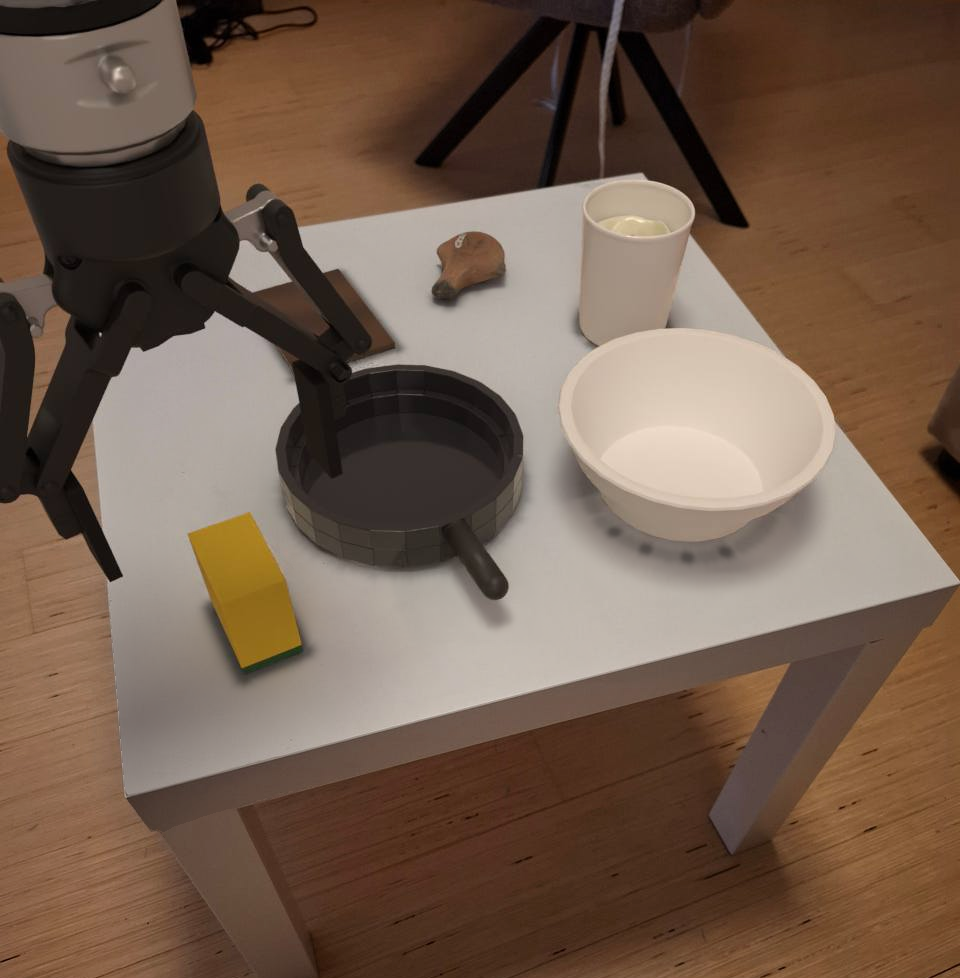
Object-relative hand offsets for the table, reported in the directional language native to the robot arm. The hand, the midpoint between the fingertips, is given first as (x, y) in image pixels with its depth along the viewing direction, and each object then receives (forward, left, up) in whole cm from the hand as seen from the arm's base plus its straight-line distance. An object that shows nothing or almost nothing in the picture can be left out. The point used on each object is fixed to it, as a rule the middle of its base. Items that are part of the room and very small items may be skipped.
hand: (221, 512), depth 53 cm
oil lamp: (-38, +35, -17) cm, 54 cm away
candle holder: (-24, +45, -17) cm, 53 cm away
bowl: (-3, +37, -17) cm, 40 cm away
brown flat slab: (-38, +19, -17) cm, 45 cm away
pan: (-14, +17, -17) cm, 27 cm away
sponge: (-5, +1, -17) cm, 17 cm away
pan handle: (-1, +17, -14) cm, 22 cm away
